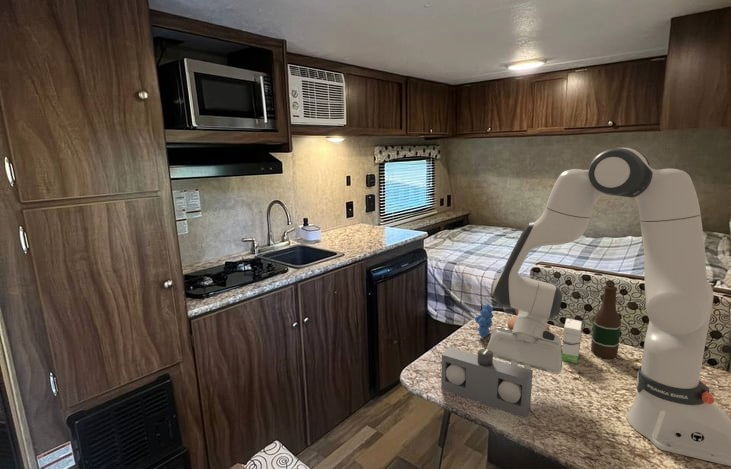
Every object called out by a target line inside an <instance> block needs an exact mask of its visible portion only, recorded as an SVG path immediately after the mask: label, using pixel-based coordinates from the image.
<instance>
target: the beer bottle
mask: <svg viewBox="0 0 731 469" xmlns="http://www.w3.org/2000/svg"><path fill="white" fill-rule="evenodd" d="M603 289H604V293H603V298H602V303H601V308H600V309H599V310H598V311H596V312H595V315H594V318H593V321H592V322H593V324H592V332H591V333H592V334H591V343H590V351H591V352H592V353H593V355H594V356H596V357H599V358H601V359H610V360H611V359H612V360H613V359H614V358H616V357H618V352H619V344H620V337H621V329H622V328H621V326H622V320H621V316H620V314H619V313H618V311H617V305H616V304H617V291H618V288H617V286H615V285H611V284H610V285H609V284H608V285H604V287H603Z"/></svg>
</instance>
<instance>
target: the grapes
mask: <svg viewBox="0 0 731 469" xmlns="http://www.w3.org/2000/svg"><path fill="white" fill-rule="evenodd" d="M492 312H494V309H493V306H492V305H490V304H489V303H487V304H485V305H484V306H482V309H481V311H480V314H478V315H476V316H475V317H474V321H475V323H477V324H478V327H477V330H478V333H479V336H480V337H481V338H482V339H484V338H486V337H487V336H488V335H489V334H491V331H490V328H491V327H492V326H493V321H492V319H493V318H494V315H493V313H492Z"/></svg>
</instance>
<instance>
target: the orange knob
mask: <svg viewBox="0 0 731 469" xmlns="http://www.w3.org/2000/svg"><path fill="white" fill-rule="evenodd" d="M446 376H447V378H448V380H449V381H450V382H451V383H453V384H455V385H460V384H462V383H463V382H464V381H465V379H466V368H464V367H461V366H457V365H454V364H451V365H450V366H449V367H448V368H447V370H446Z"/></svg>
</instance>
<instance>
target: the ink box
mask: <svg viewBox="0 0 731 469" xmlns="http://www.w3.org/2000/svg"><path fill="white" fill-rule="evenodd" d="M582 325H583V321H582V320H577V319H573V318H572V319H571V318H566V319H565V323H564V325H563V327H564V328H563V339H562V350H561V353H562V361H564V362H570V363H573V364H579V356H580V350H581V349H580V347H581V338H582V327H583V326H582Z"/></svg>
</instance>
